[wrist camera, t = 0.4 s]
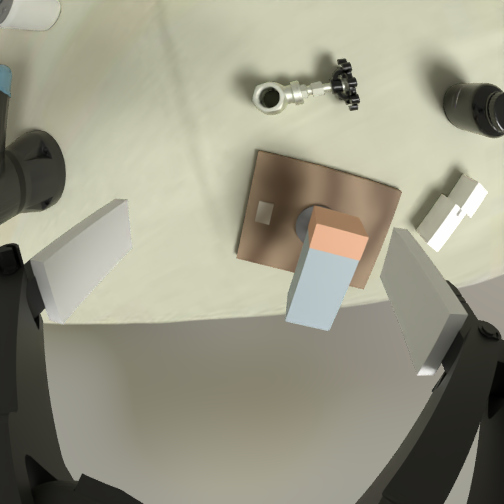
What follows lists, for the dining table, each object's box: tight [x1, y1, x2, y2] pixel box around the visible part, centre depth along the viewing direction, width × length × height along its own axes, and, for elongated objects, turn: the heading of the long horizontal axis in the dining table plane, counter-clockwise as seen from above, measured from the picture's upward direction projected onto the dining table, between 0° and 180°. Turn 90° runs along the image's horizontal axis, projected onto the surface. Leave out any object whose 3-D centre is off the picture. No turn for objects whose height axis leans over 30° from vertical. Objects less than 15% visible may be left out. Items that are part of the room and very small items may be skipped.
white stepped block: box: [416, 174, 488, 252], centre depth 36 cm, size 15×11×6 cm
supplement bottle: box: [444, 83, 504, 138], centre depth 26 cm, size 7×7×12 cm
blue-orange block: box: [285, 205, 369, 331], centre depth 31 cm, size 5×11×6 cm, turn 169°
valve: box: [252, 59, 360, 115], centre depth 32 cm, size 7×7×12 cm
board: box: [237, 150, 402, 289], centre depth 38 cm, size 20×16×9 cm
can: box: [0, 0, 61, 31], centre depth 26 cm, size 6×6×12 cm
